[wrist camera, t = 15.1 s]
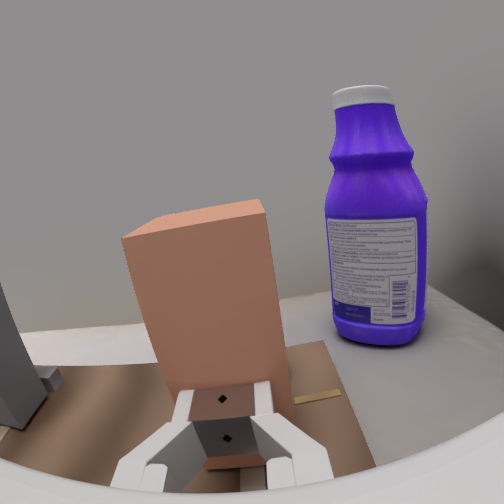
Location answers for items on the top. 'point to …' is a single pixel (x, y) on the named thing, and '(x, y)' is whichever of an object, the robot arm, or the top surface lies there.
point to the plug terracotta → (212, 304)
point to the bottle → (375, 222)
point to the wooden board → (160, 412)
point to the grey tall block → (16, 374)
